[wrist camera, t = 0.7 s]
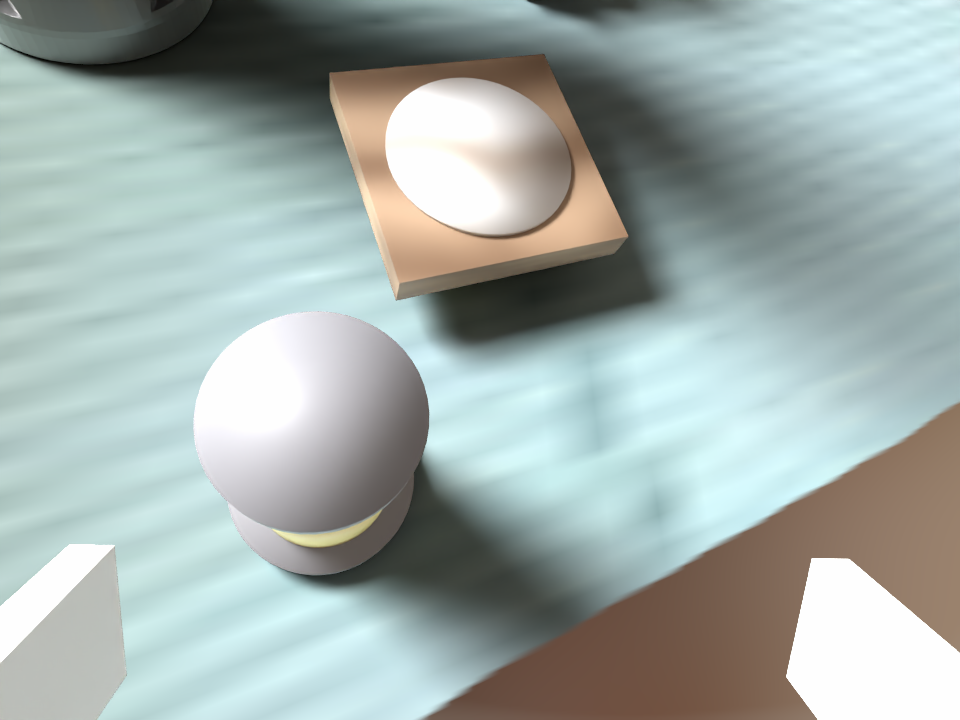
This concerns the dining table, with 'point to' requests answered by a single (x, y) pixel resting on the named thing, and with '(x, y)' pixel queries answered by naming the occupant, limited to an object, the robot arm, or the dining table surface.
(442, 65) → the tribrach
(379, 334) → the yellow thread spool
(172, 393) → the dining table surface
